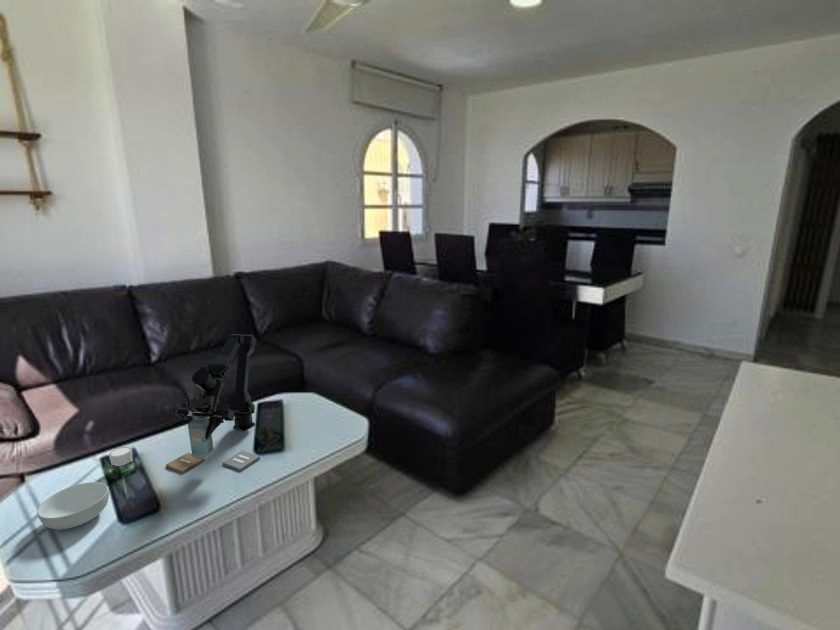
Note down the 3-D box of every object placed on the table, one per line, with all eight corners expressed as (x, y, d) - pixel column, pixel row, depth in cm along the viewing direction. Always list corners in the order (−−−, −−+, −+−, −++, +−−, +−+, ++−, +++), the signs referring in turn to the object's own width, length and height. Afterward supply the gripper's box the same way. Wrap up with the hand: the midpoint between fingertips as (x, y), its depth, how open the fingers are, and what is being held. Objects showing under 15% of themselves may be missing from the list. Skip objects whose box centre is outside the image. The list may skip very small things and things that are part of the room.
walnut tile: (188, 454, 171) (188, 452, 171) (205, 460, 167) (204, 457, 167) (166, 467, 163) (165, 464, 163) (183, 473, 160) (182, 470, 159)
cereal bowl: (101, 494, 149) (97, 475, 147) (120, 516, 139) (116, 495, 137) (35, 521, 136) (30, 501, 134) (51, 548, 126) (45, 526, 124)
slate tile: (242, 452, 173) (241, 449, 172) (259, 458, 169) (259, 455, 168) (222, 464, 165) (222, 461, 164) (240, 471, 161) (240, 468, 161)
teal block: (199, 449, 162) (195, 417, 159) (213, 449, 162) (209, 417, 159) (192, 457, 157) (187, 424, 154) (206, 458, 157) (201, 425, 154)
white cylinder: (139, 464, 165) (136, 446, 164) (125, 475, 159) (122, 457, 157) (121, 463, 166) (118, 445, 164) (107, 474, 159) (103, 456, 158)
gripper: (174, 386, 158) (159, 431, 150) (227, 387, 157) (215, 432, 149) (189, 397, 167) (176, 440, 160) (239, 398, 167) (228, 441, 159)
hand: (198, 438), depth 156 cm, fingers closed on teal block, 5 cm apart
